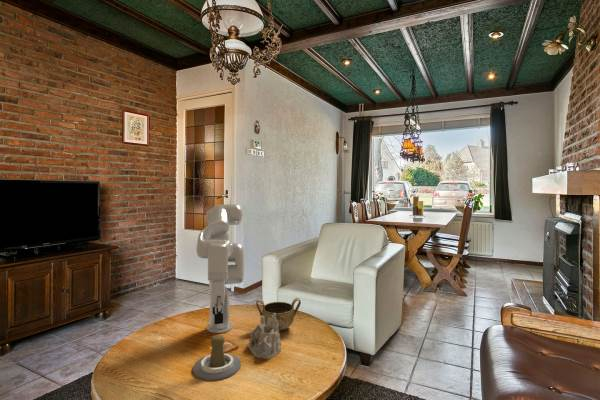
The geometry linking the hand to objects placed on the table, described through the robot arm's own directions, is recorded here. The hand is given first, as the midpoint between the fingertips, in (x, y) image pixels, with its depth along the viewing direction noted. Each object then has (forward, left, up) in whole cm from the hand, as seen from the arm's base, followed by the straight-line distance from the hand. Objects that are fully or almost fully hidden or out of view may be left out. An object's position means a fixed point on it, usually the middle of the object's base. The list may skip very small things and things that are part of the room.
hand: (217, 318), depth 128 cm
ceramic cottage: (-9, +20, -19) cm, 30 cm away
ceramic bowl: (-28, +32, -19) cm, 46 cm away
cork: (0, 0, -18) cm, 18 cm away
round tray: (0, 0, -19) cm, 19 cm away
